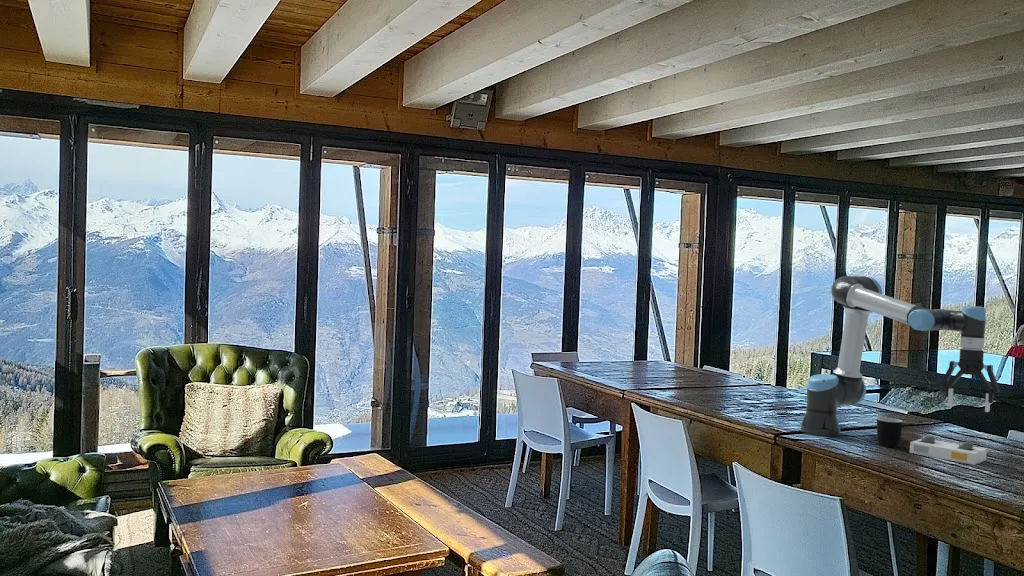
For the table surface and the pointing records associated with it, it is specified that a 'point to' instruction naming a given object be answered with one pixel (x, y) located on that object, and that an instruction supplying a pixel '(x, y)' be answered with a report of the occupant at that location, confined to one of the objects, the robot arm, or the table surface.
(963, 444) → the grey dome
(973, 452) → the white rectangular box
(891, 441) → the mug
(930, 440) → the dark grey rounded piece
